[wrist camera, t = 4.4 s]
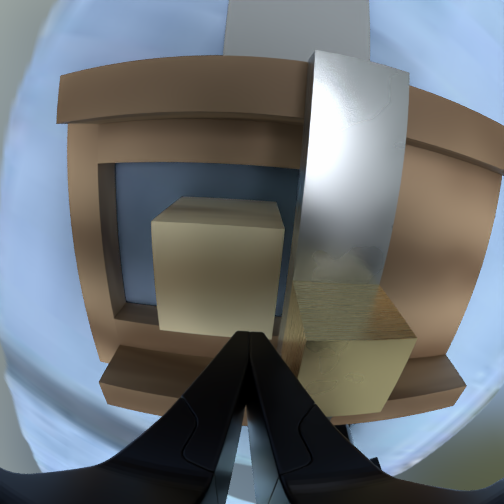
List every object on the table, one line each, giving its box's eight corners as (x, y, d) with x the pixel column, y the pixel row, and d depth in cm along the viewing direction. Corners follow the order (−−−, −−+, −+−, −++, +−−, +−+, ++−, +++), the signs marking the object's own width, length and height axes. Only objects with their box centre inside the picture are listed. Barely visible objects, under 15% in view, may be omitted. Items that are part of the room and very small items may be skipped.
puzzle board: (425, 358, 19) (453, 405, 14) (110, 344, 19) (80, 396, 14) (485, 141, 13) (545, 151, 8) (88, 94, 13) (27, 85, 8)
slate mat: (366, 89, 13) (368, 88, 12) (222, 71, 13) (221, 69, 12) (365, -18, 10) (367, -20, 10) (234, -36, 10) (234, -39, 9)
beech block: (268, 286, 17) (271, 339, 12) (183, 280, 17) (159, 329, 12) (276, 201, 15) (284, 229, 11) (182, 196, 15) (150, 221, 11)
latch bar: (315, 428, 14) (325, 491, 10) (262, 429, 14) (263, 494, 10) (393, 78, 8) (468, 54, 4) (308, 60, 8) (344, 8, 4)
